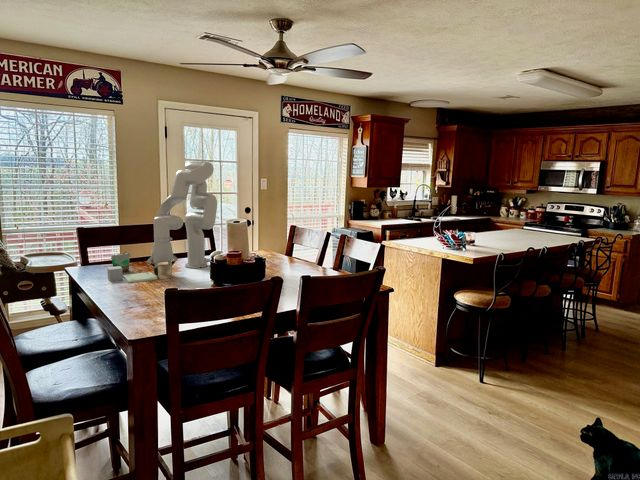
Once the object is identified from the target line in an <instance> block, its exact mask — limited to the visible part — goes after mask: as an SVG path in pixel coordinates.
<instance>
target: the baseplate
mask: <svg viewBox="0 0 640 480" xmlns="http://www.w3.org/2000/svg"><path fill="white" fill-rule="evenodd" d="M158 279H159V278H158V277H157V276H156V275H155V274H154V272H151V271H148V272H138V273H130V274H123V280H125V281H126V283H128V284H131V283H137V282H146V281H155V280H158Z"/></svg>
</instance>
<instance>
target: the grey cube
mask: <svg viewBox="0 0 640 480" xmlns="http://www.w3.org/2000/svg"><path fill="white" fill-rule="evenodd" d="M106 271H107V279H108V281H109V282H115V281H122V280H124V278H123V275H124V274H123V272H122V267H121V266H116V267H113V266H109V267H108V266H107V270H106Z"/></svg>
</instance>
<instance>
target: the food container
mask: <svg viewBox="0 0 640 480" xmlns="http://www.w3.org/2000/svg"><path fill="white" fill-rule="evenodd" d="M131 257H132V256H131V253H130V251H127V250H126V251H124V252H123V253H118V254H112V255H110V260H111V263H112V267H116V266H121V267H122V272H123V273H128V272H130V258H131Z"/></svg>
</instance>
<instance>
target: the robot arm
mask: <svg viewBox="0 0 640 480" xmlns="http://www.w3.org/2000/svg"><path fill="white" fill-rule="evenodd" d="M214 171H215V169H214V165H213V164H212V162H210V161H187V162H186V163H185V165H184V169H179V170H177V171H176V172H175V175H174V180H173V184H172V187H171V191H170V194H169V195H168V196H167V197H166V199H165V200H164V201H163V202H161V204H160V206H159V208H158V210H157V213H156V216H155V217H154V218H153V240H154V242H152V245H151V256H150V257H149V258H148V259H147V260H146V262H147V263H148V264H149V265H151V266H152V267H153V274H154V275H155V276H156V277H157V276H158V268H157V265H158V263H164V262H166V263H167V264H169V265H170V266H172V267H173V265H174V264H175V263H176V262H177V261H178V260H179V259H178V257H177V256H176V255H174V253H173V246H172V242H171V241H173V237H171V236H170V230H175V231H176V230H179V229H181V228H182V227H183V225H185V228H186V229H185V230H186V242H187V243H186V244H187V248H186V251H187V263H185V264H184V267H185V268H189V269H201V268H200V267H202V268H205V267H208V263H211V262H210V259H211V258H207V257H205V233H204V231H203V230H211V229H213V228H214V227H215V224H216V219H217V218H216V217H217V212H218V211H217V210H218V199H217V197H216V196H215V194H213V193H208V192H207V190H208V184H207V180H208V179H210V177H212V175H213V174H214ZM190 186H191V189H190ZM189 190H190V199H189V205H190V206H189V207H190V208H191V209H193V210H198V211H189V212H188V213H186V214H185V216H184V220H183V218H182V217H181V216H179V215H173V214H170V211H171V210H172V209H173V208H174V207H175V206H177V205H178V204H179V205H180V204H181V203H183V202H185V201H186V200H187V197H188V193H189ZM201 211H202V212H201ZM203 211H204V212H203Z"/></svg>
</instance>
